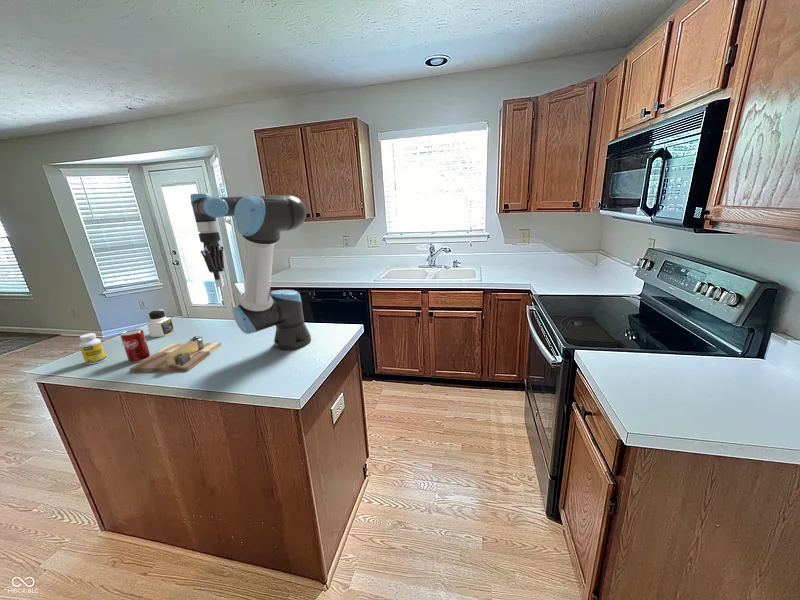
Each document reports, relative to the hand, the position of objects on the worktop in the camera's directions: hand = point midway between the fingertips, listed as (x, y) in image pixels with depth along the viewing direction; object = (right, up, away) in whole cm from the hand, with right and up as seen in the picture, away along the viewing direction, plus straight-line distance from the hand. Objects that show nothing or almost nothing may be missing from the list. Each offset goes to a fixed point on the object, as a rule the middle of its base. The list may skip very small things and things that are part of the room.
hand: (220, 286), depth 146 cm
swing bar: (-6, -28, -13) cm, 32 cm away
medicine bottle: (-37, -23, +16) cm, 47 cm away
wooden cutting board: (-11, -30, -11) cm, 33 cm away
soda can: (-28, -30, -10) cm, 42 cm away
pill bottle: (-46, -31, -10) cm, 56 cm away
